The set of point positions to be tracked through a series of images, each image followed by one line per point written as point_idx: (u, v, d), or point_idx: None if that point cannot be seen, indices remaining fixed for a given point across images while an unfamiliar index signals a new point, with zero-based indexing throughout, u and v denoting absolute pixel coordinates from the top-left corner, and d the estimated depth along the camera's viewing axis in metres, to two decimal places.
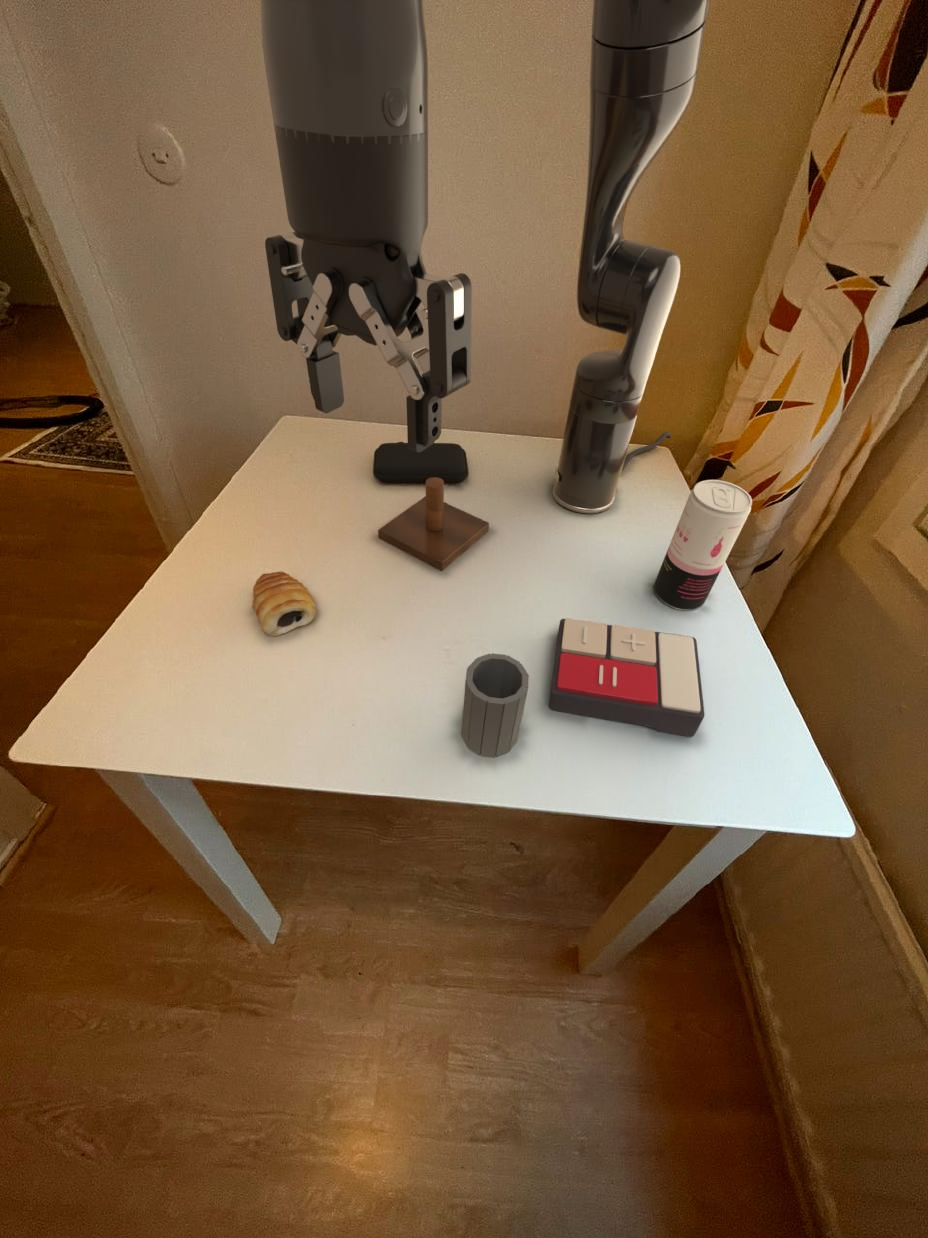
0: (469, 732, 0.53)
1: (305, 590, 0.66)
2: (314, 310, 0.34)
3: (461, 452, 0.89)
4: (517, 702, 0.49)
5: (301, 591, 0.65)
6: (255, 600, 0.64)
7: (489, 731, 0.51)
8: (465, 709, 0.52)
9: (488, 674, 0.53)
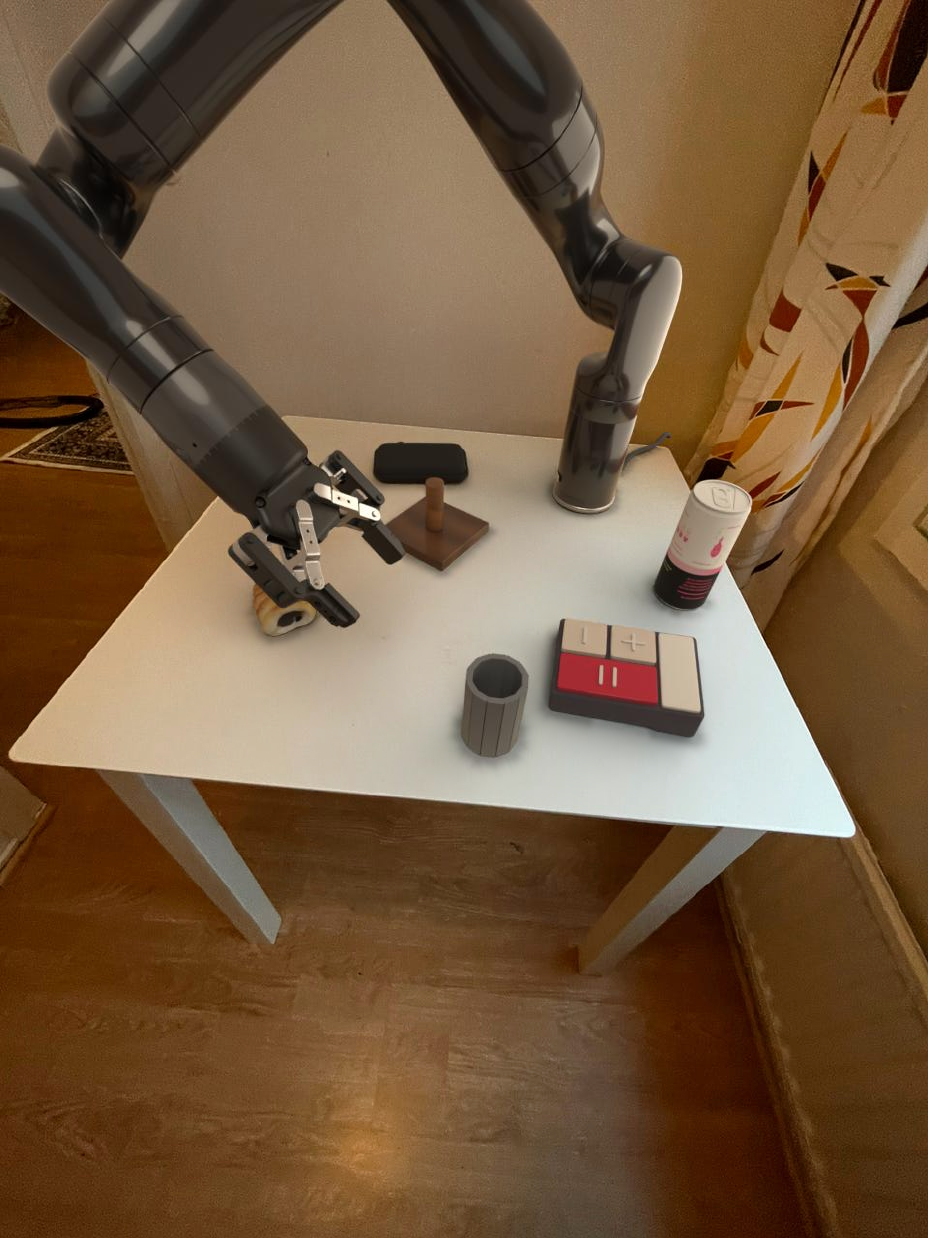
0: (469, 732, 0.53)
1: None
2: None
3: (461, 452, 0.89)
4: (517, 702, 0.49)
5: None
6: (255, 600, 0.64)
7: (489, 731, 0.51)
8: (465, 709, 0.52)
9: (488, 674, 0.53)
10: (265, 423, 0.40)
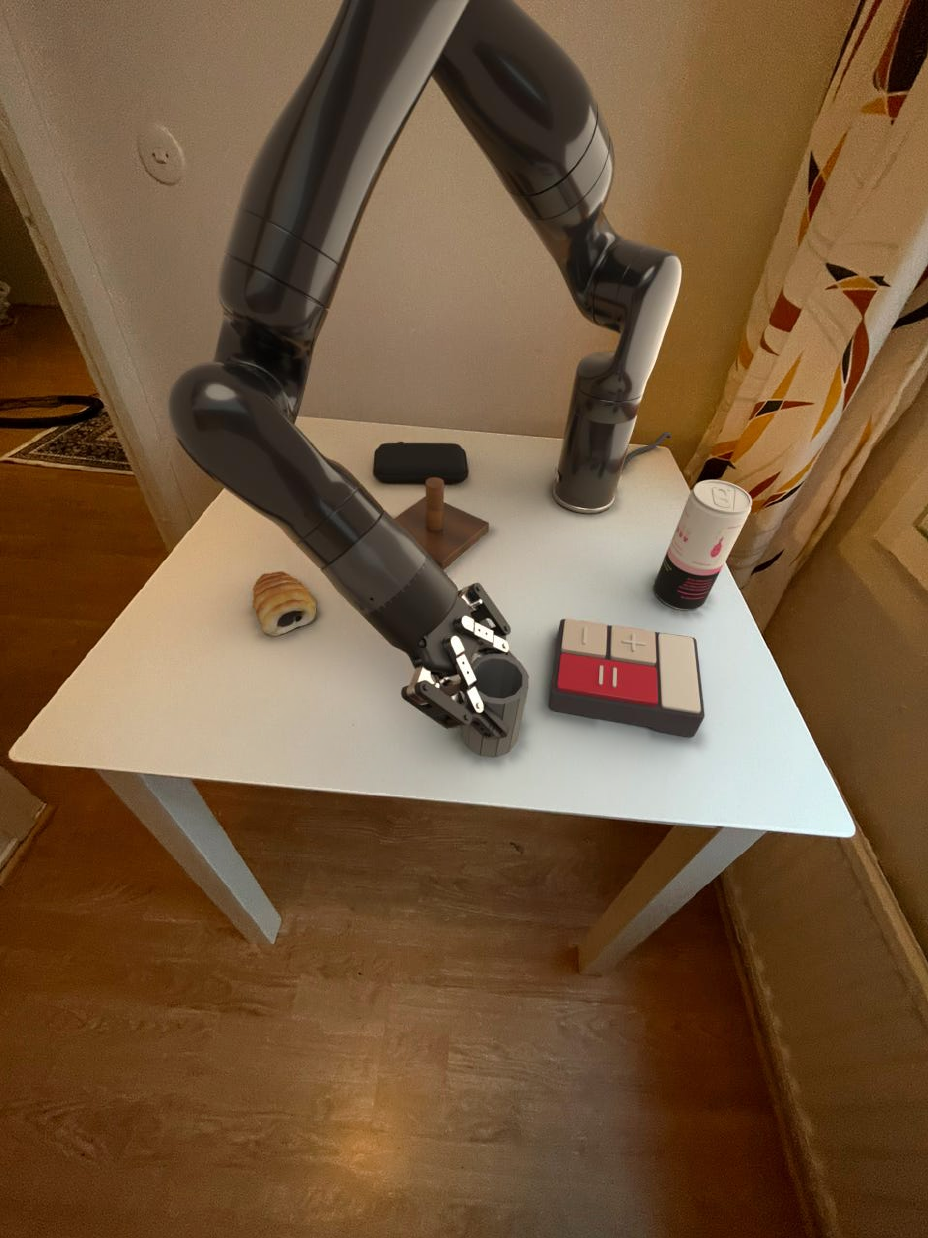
0: (469, 732, 0.53)
1: (305, 590, 0.66)
2: None
3: (461, 452, 0.89)
4: (517, 702, 0.49)
5: (301, 591, 0.65)
6: (255, 600, 0.64)
7: None
8: None
9: (488, 674, 0.53)
10: (430, 575, 0.44)
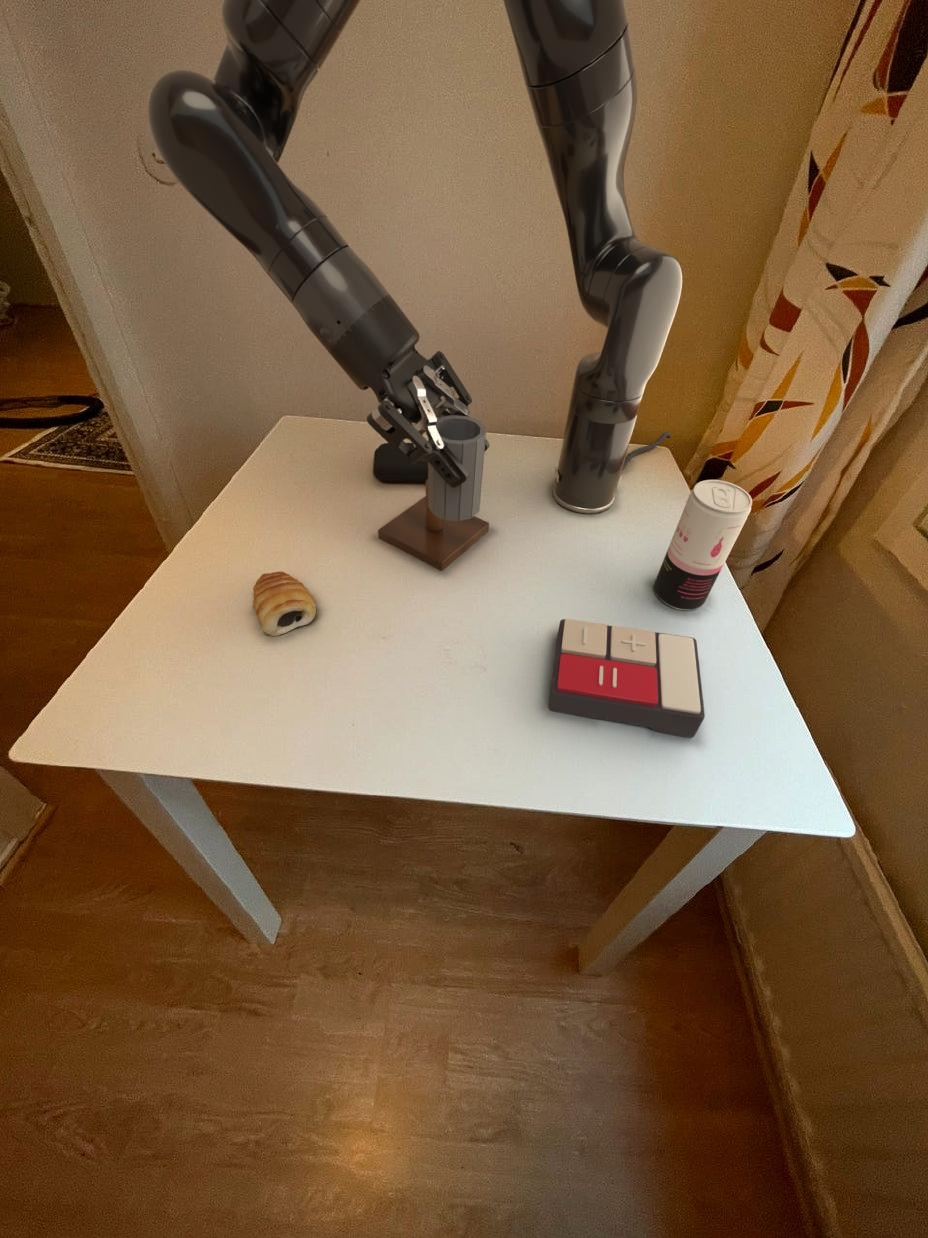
0: (434, 491, 0.58)
1: (305, 590, 0.66)
2: None
3: None
4: (475, 446, 0.54)
5: (301, 591, 0.65)
6: (255, 600, 0.64)
7: None
8: (429, 466, 0.57)
9: (451, 439, 0.58)
10: (392, 307, 0.49)
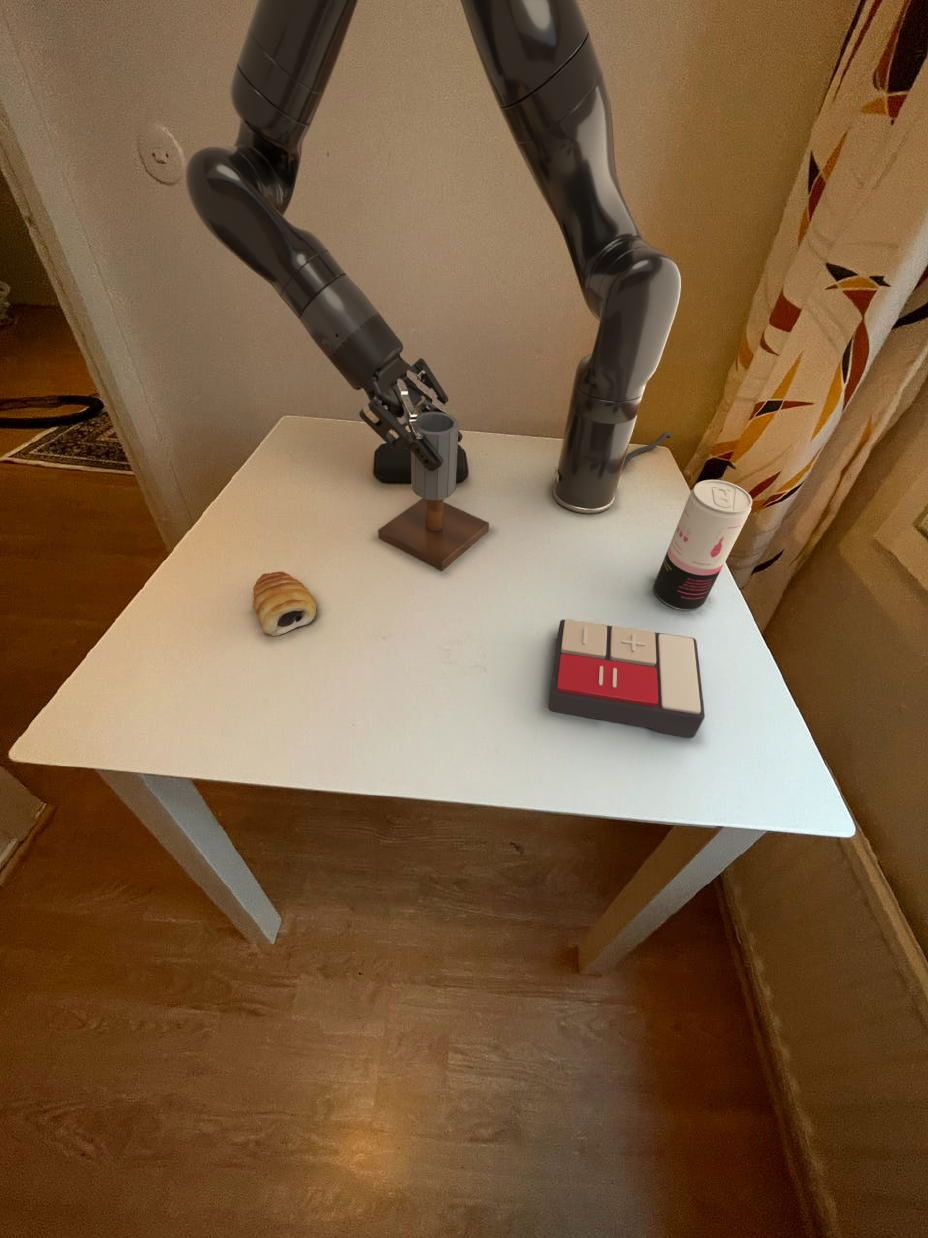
0: (416, 475, 0.69)
1: (305, 590, 0.66)
2: None
3: (461, 452, 0.89)
4: (448, 436, 0.65)
5: (301, 591, 0.65)
6: (255, 600, 0.64)
7: None
8: (412, 454, 0.68)
9: (430, 431, 0.69)
10: (380, 323, 0.60)
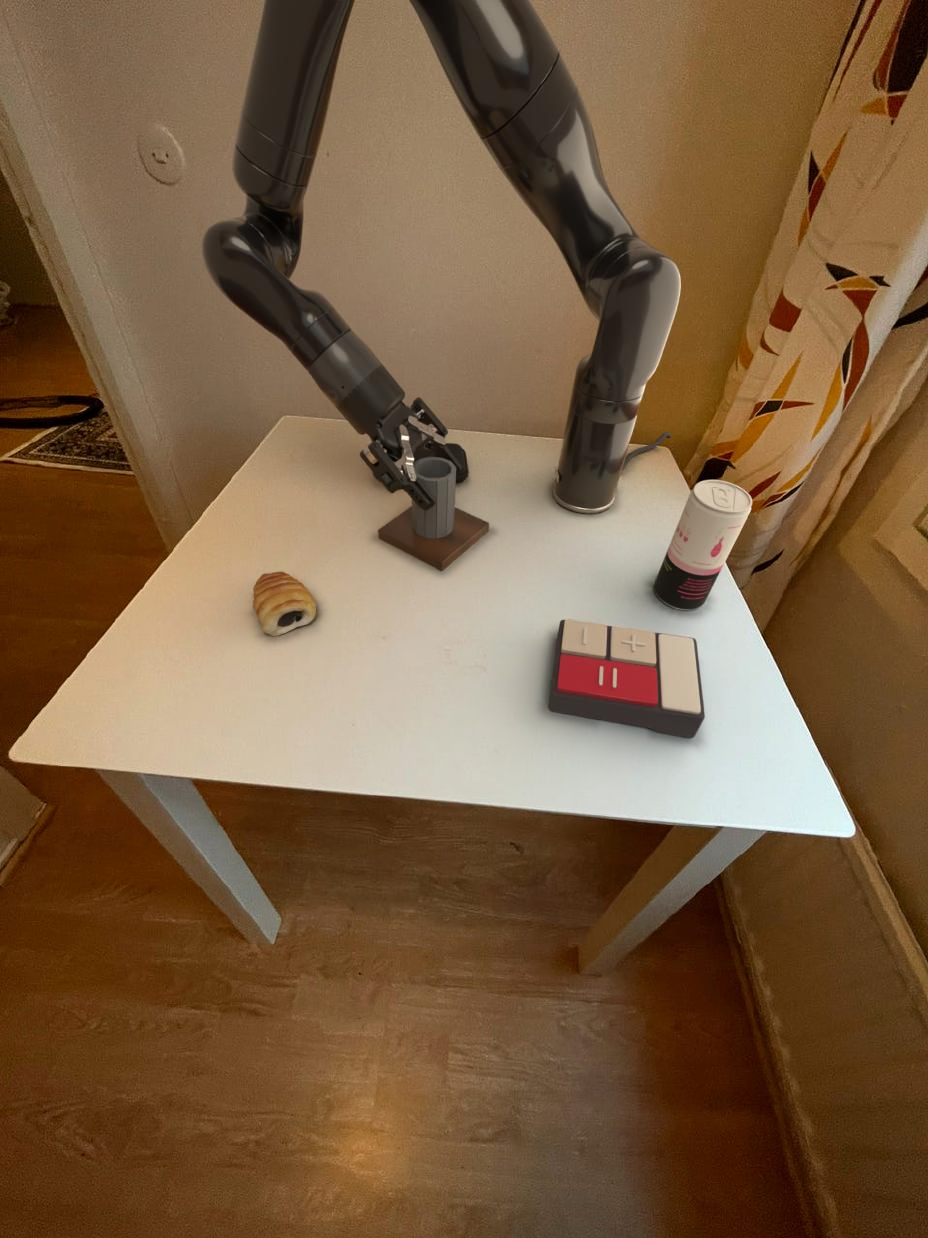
0: (416, 516, 0.74)
1: (305, 590, 0.66)
2: None
3: (461, 452, 0.89)
4: (446, 482, 0.69)
5: (301, 591, 0.65)
6: (255, 600, 0.64)
7: (429, 510, 0.72)
8: None
9: (430, 475, 0.74)
10: (383, 374, 0.64)
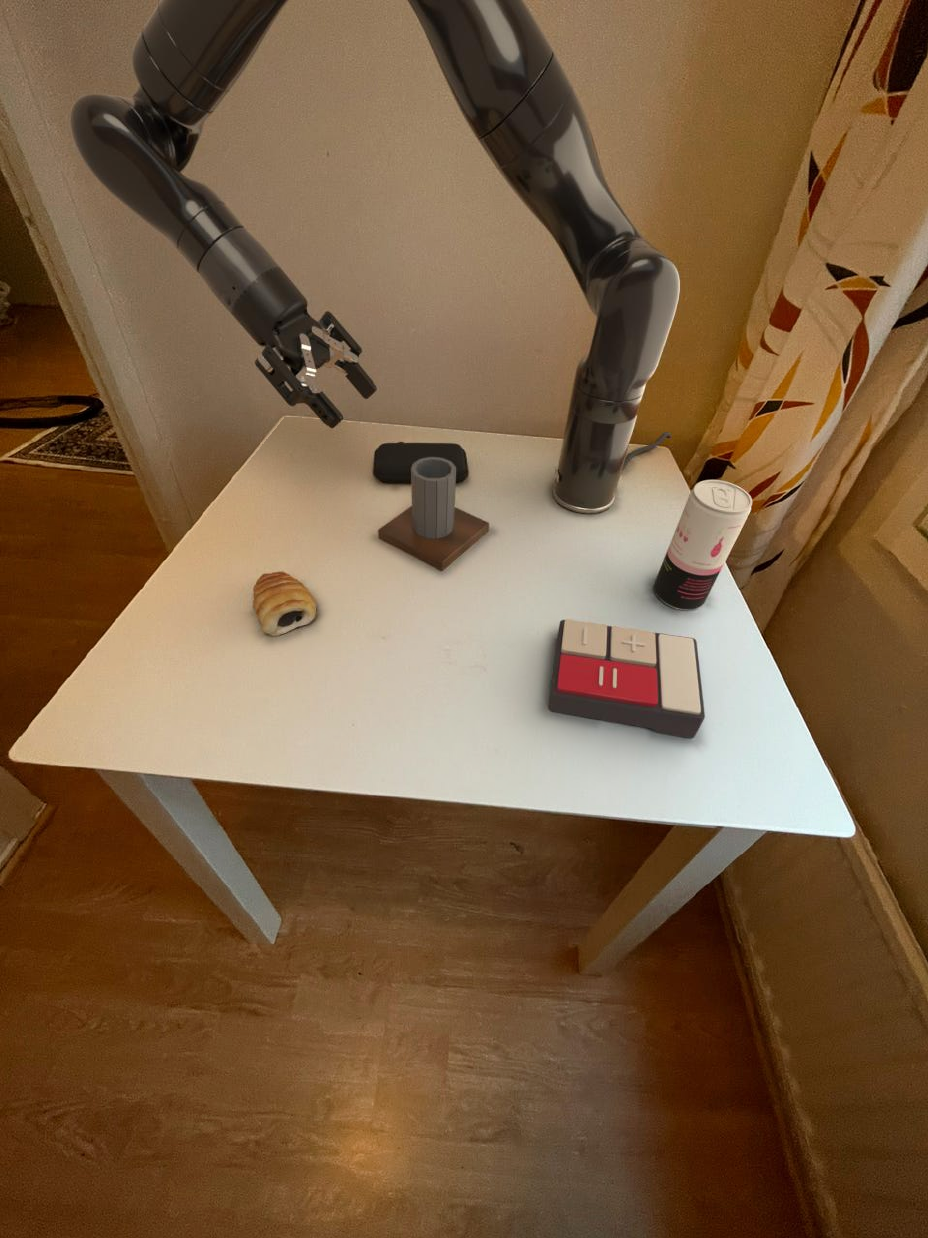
0: (416, 516, 0.74)
1: (305, 590, 0.66)
2: None
3: (461, 452, 0.89)
4: (446, 482, 0.69)
5: (301, 591, 0.65)
6: (255, 600, 0.64)
7: (429, 510, 0.72)
8: (412, 497, 0.73)
9: (430, 475, 0.74)
10: (279, 276, 0.60)
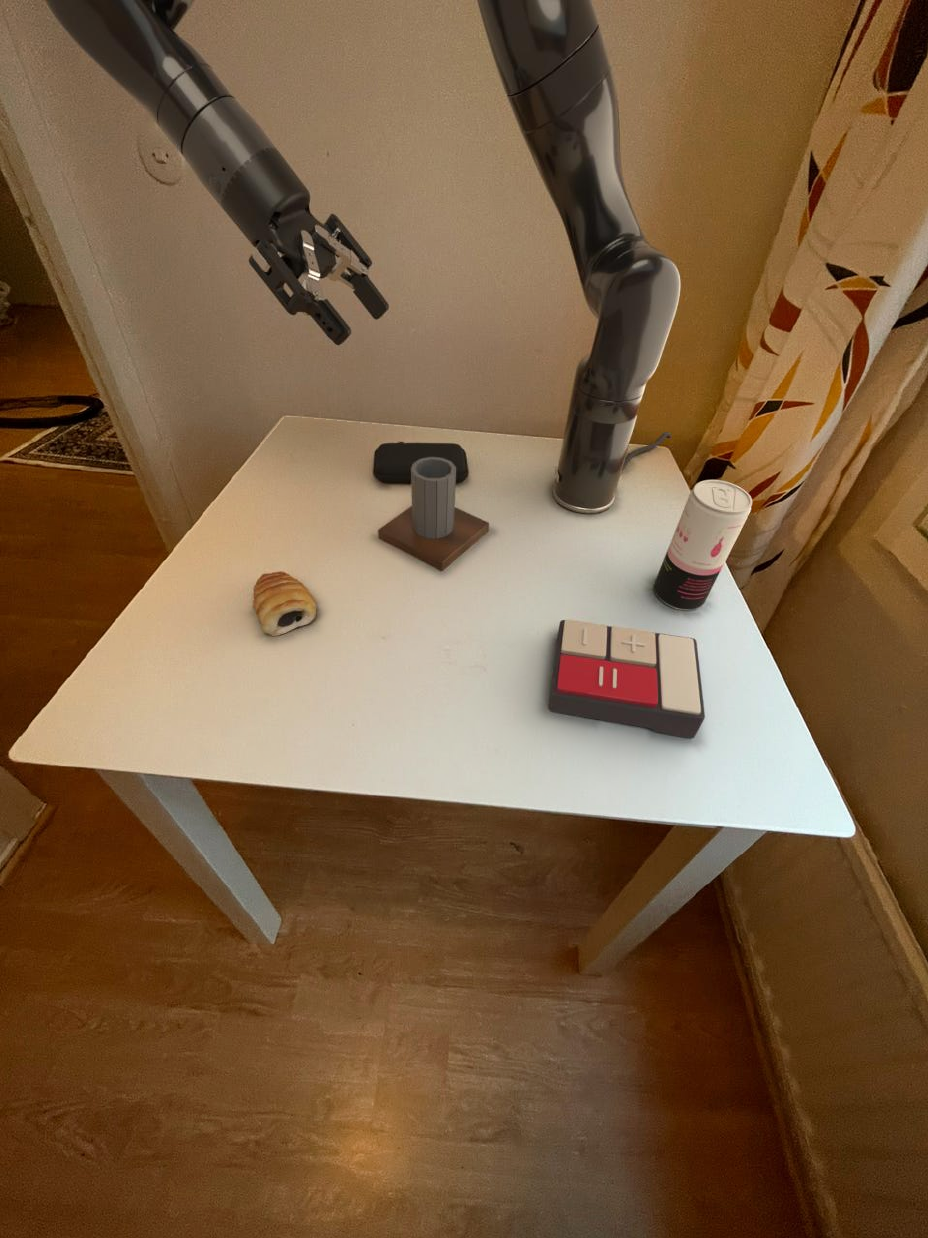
0: (416, 516, 0.74)
1: (305, 590, 0.66)
2: None
3: (461, 452, 0.89)
4: (446, 482, 0.69)
5: (301, 591, 0.65)
6: (255, 600, 0.64)
7: (429, 510, 0.72)
8: (412, 497, 0.73)
9: (430, 475, 0.74)
10: (277, 158, 0.52)
